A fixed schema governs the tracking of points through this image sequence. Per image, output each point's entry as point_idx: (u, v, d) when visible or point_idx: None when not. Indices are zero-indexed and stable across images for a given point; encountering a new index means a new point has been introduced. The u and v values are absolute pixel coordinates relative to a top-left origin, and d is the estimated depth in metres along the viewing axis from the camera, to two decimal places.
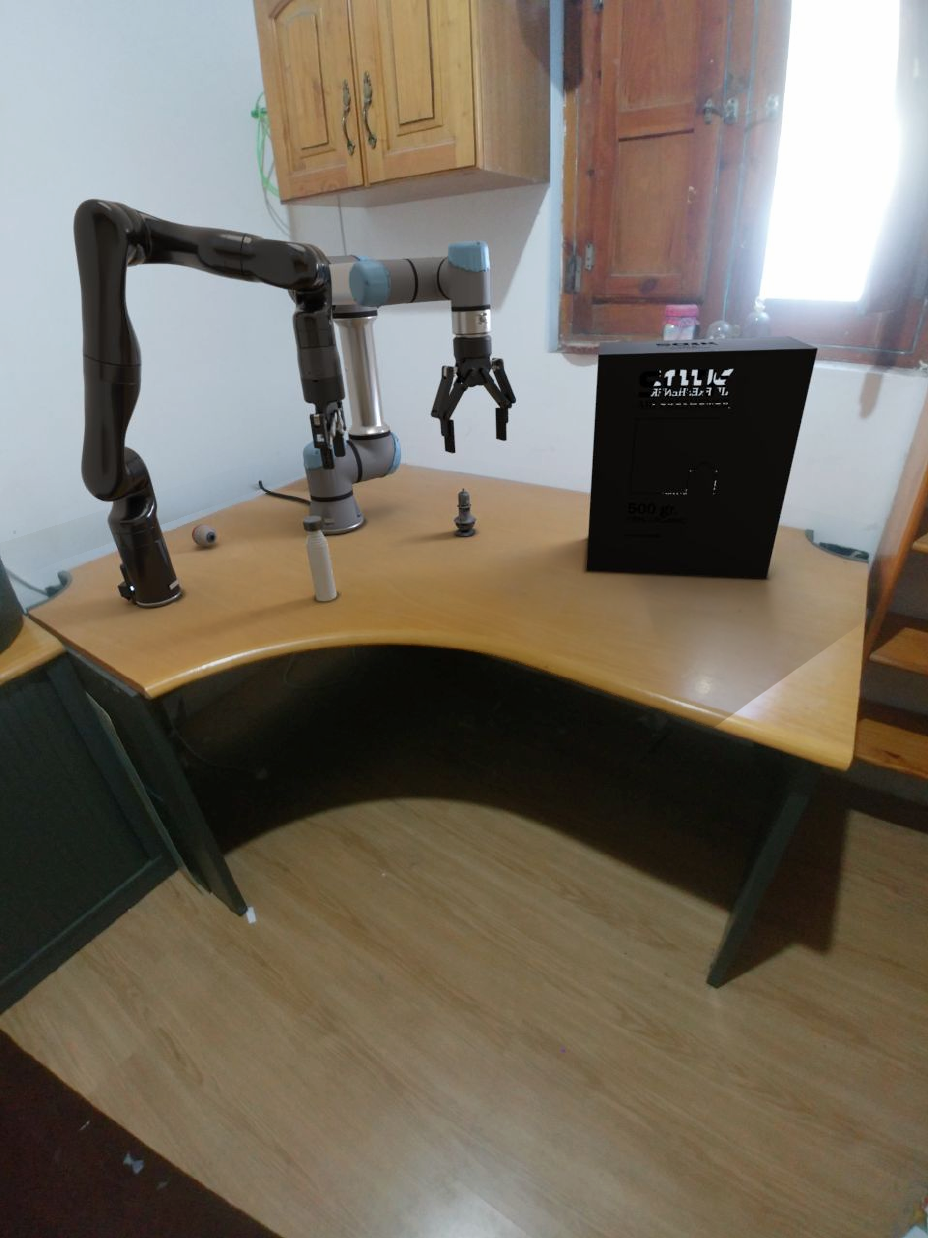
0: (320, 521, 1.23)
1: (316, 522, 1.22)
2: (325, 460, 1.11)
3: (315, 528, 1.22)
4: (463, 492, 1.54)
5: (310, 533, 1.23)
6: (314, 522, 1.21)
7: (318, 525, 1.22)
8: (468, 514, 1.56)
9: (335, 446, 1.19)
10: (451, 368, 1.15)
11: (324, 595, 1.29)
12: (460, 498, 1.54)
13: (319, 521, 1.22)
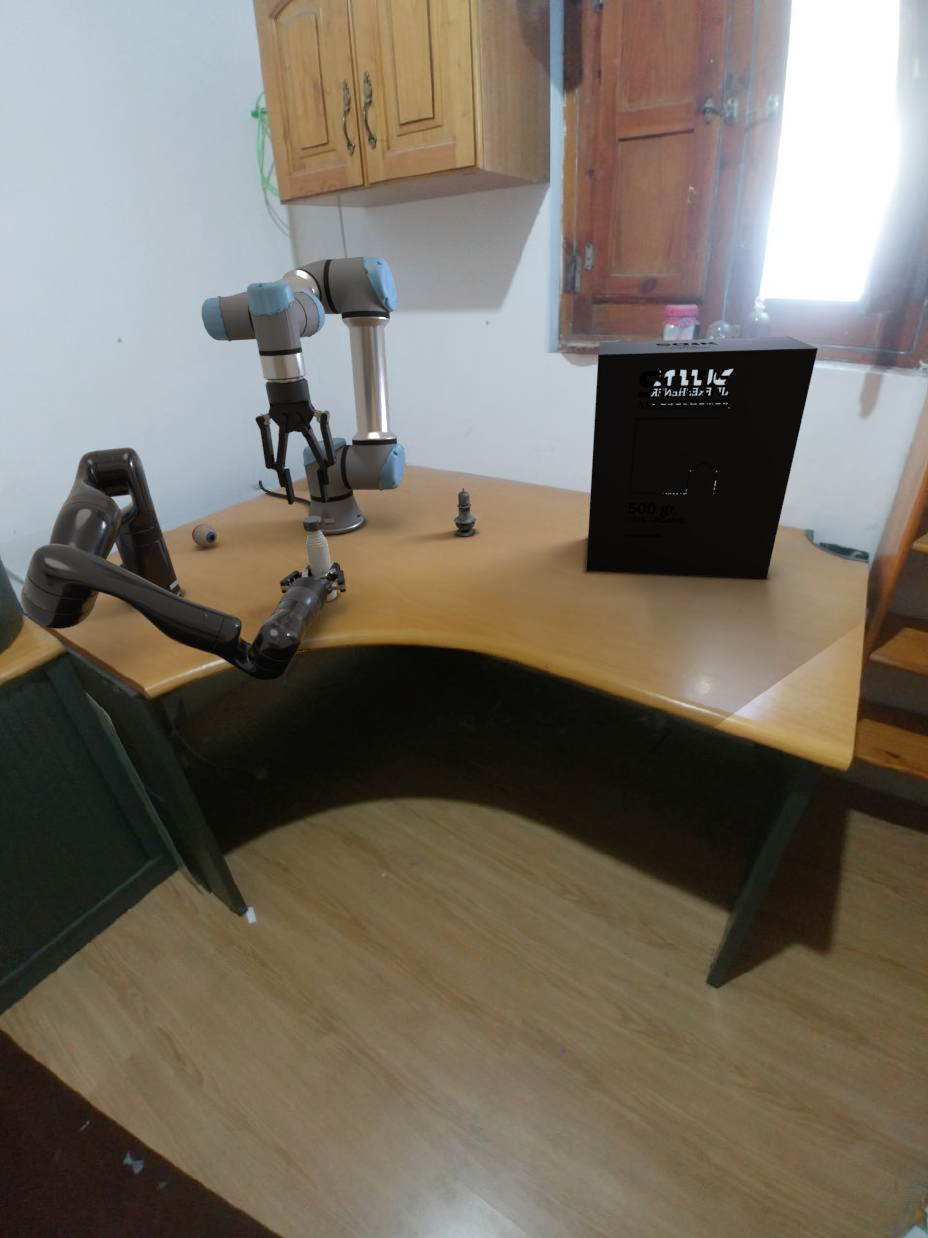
0: (320, 521, 1.23)
1: (316, 522, 1.22)
2: (339, 570, 1.29)
3: (315, 528, 1.22)
4: (463, 492, 1.54)
5: (310, 533, 1.23)
6: (314, 522, 1.21)
7: (318, 525, 1.22)
8: (468, 514, 1.56)
9: None
10: None
11: None
12: (460, 498, 1.54)
13: (319, 521, 1.22)
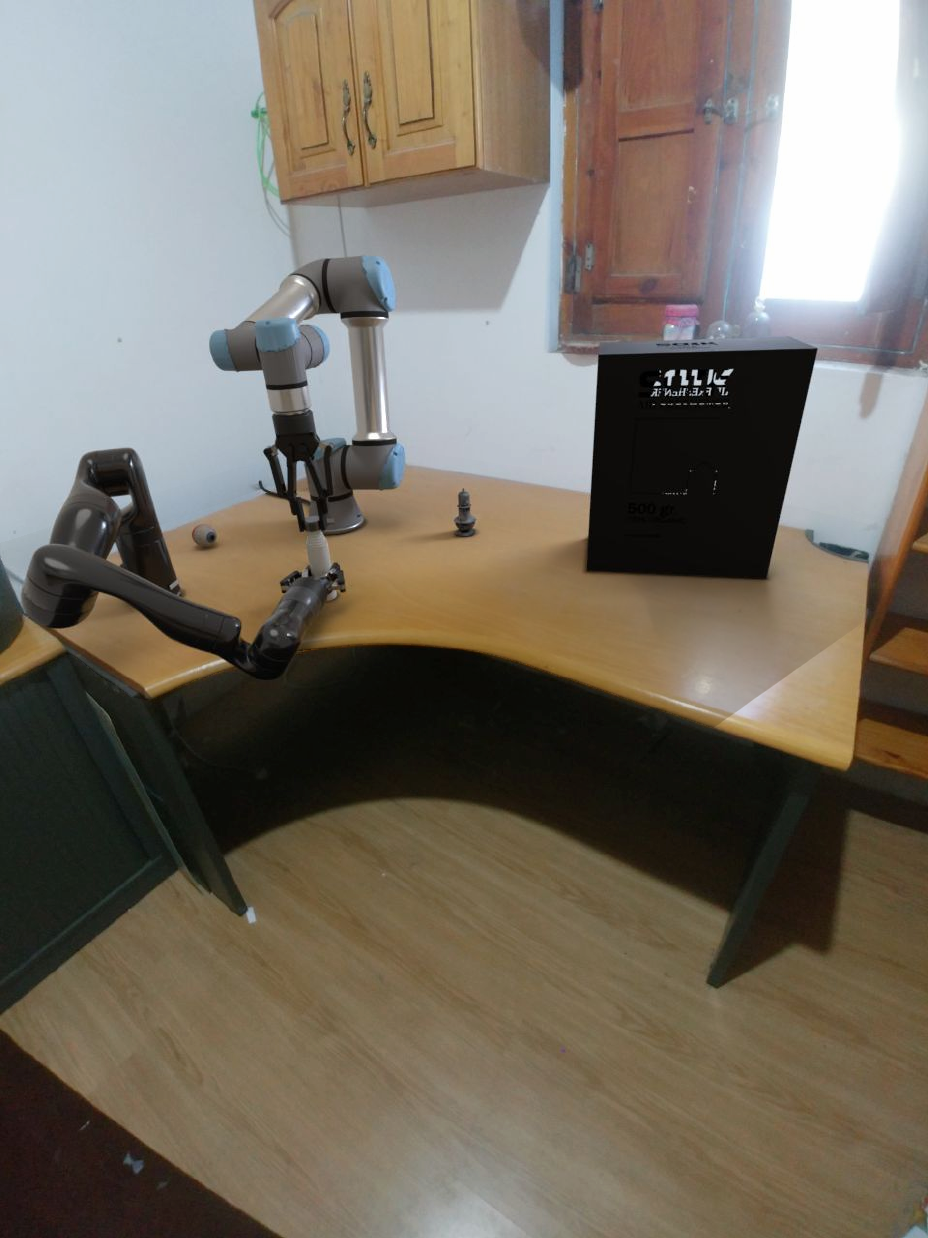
0: None
1: (316, 522, 1.22)
2: (339, 570, 1.29)
3: (315, 528, 1.22)
4: (463, 492, 1.54)
5: (310, 533, 1.23)
6: (314, 522, 1.21)
7: (318, 525, 1.22)
8: (468, 514, 1.56)
9: None
10: None
11: None
12: (460, 498, 1.54)
13: (319, 521, 1.22)
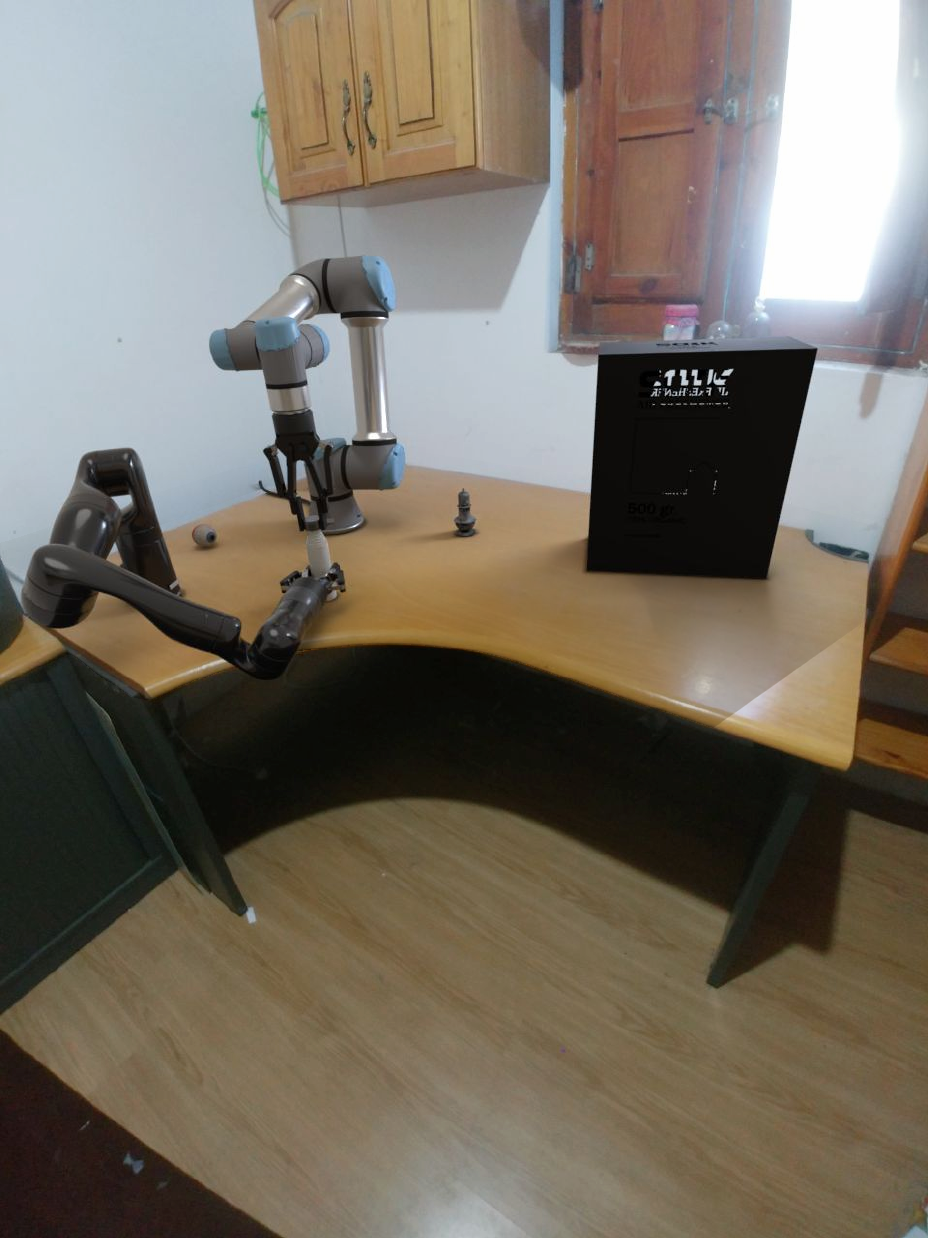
0: None
1: None
2: (339, 570, 1.29)
3: None
4: (463, 492, 1.54)
5: (310, 533, 1.23)
6: None
7: None
8: (468, 514, 1.56)
9: None
10: None
11: None
12: (460, 498, 1.54)
13: None
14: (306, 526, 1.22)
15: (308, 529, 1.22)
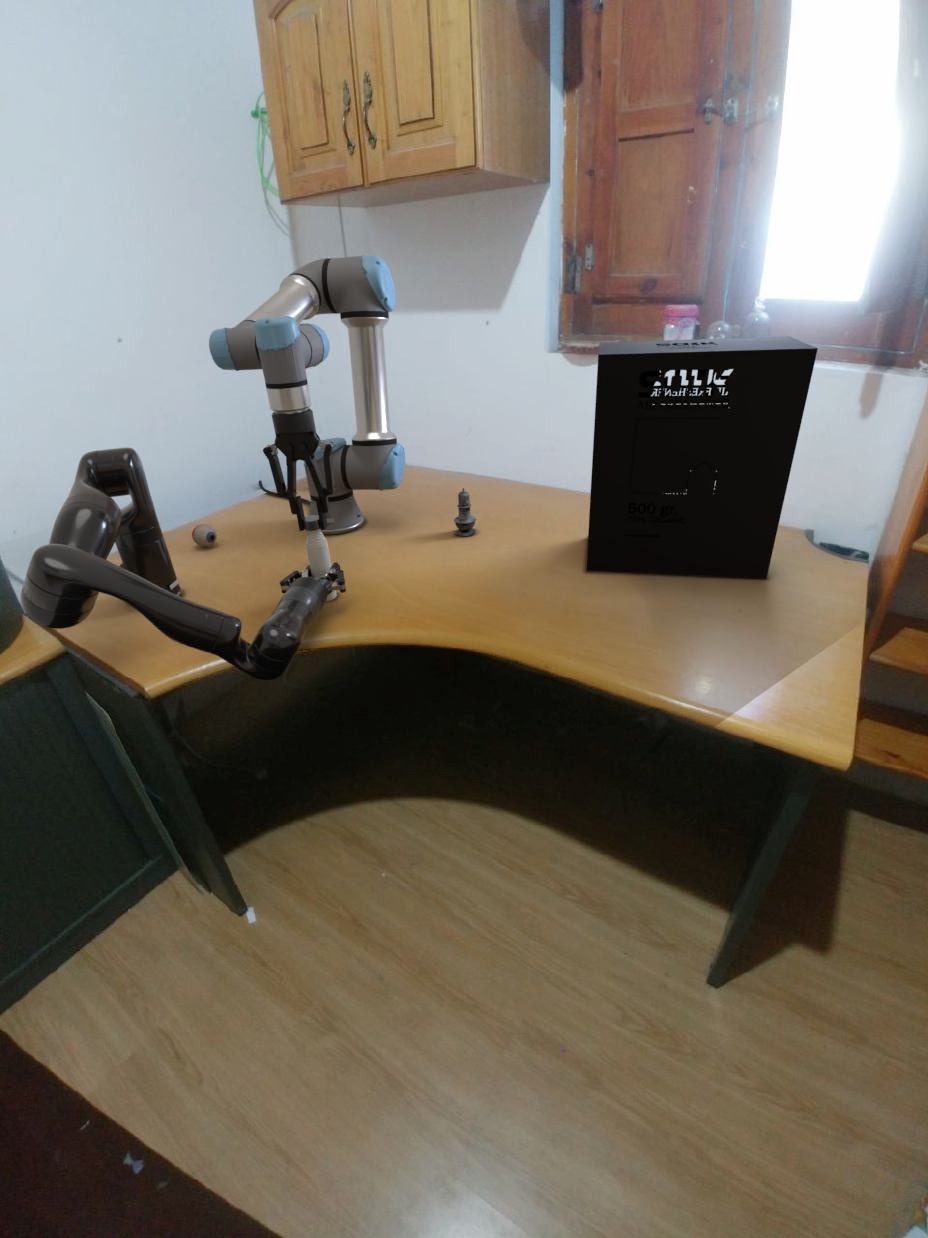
0: (303, 522, 1.22)
1: None
2: (339, 570, 1.29)
3: None
4: (463, 492, 1.54)
5: (310, 533, 1.23)
6: None
7: None
8: (468, 514, 1.56)
9: None
10: None
11: None
12: (460, 498, 1.54)
13: None
14: None
15: None
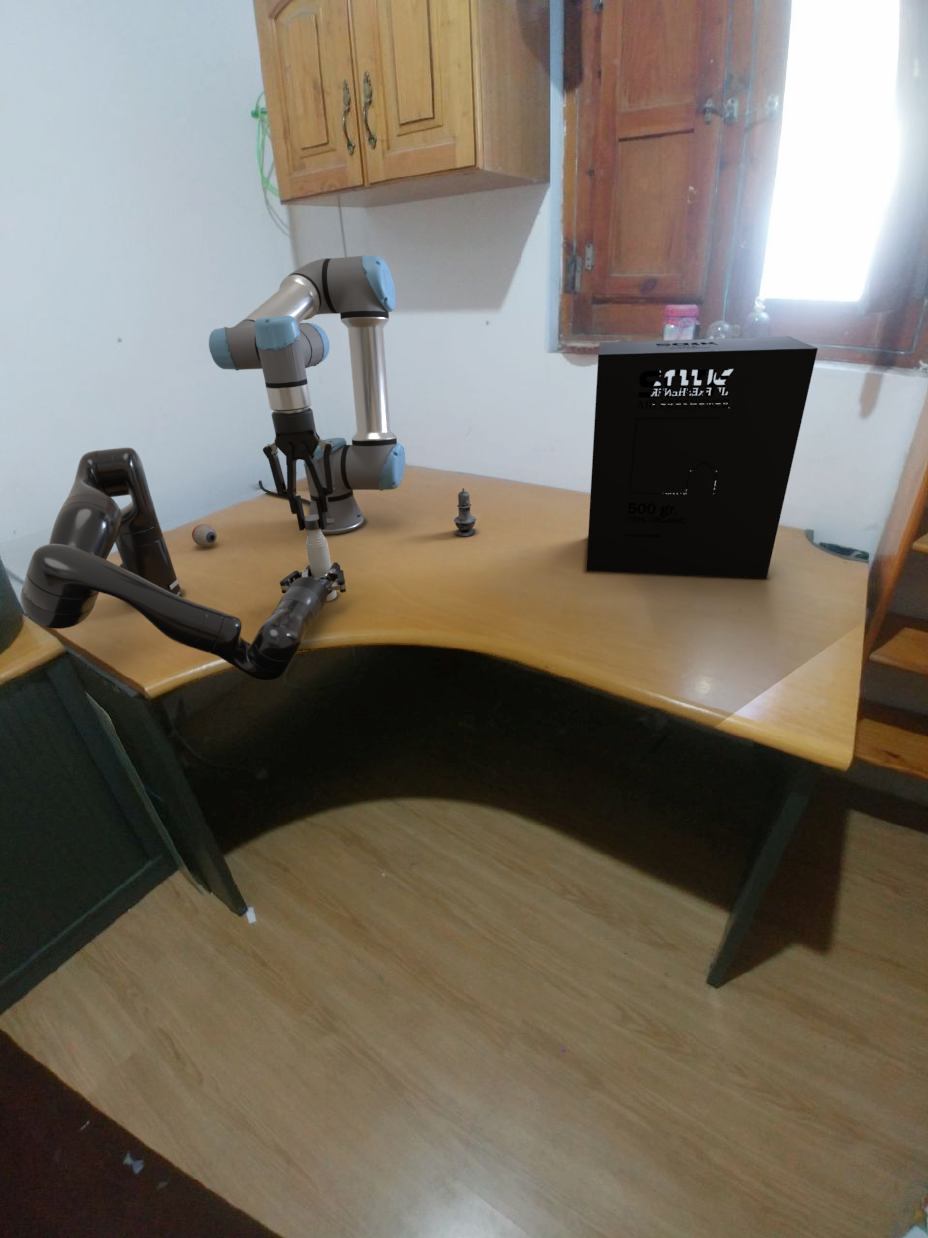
0: (317, 521, 1.22)
1: (312, 521, 1.21)
2: (339, 570, 1.29)
3: (311, 528, 1.22)
4: (463, 492, 1.54)
5: (310, 533, 1.23)
6: (310, 521, 1.21)
7: (314, 525, 1.22)
8: (468, 514, 1.56)
9: None
10: None
11: None
12: (460, 498, 1.54)
13: (316, 521, 1.22)
14: None
15: None
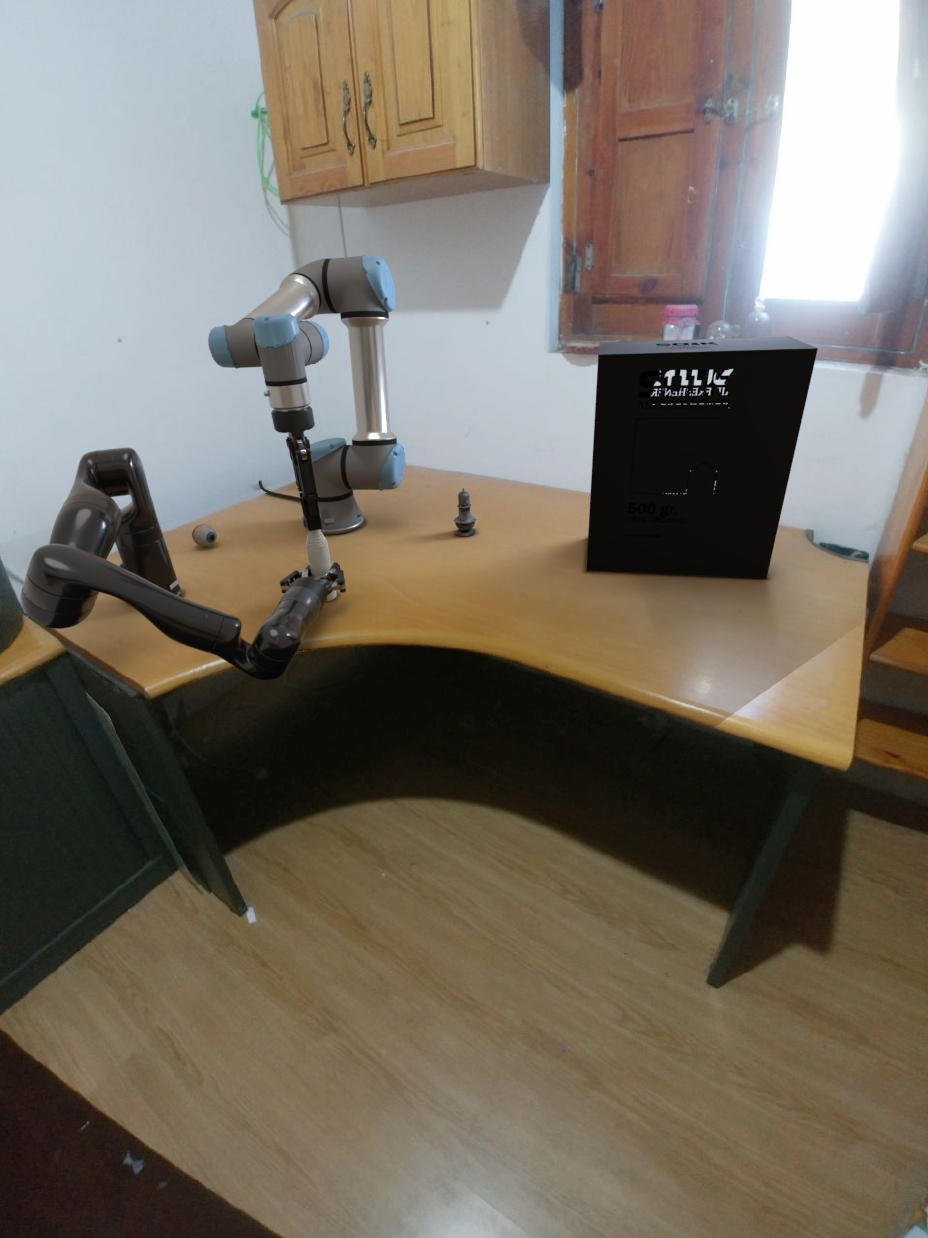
0: None
1: None
2: (339, 570, 1.29)
3: (321, 521, 1.24)
4: (463, 492, 1.54)
5: (310, 533, 1.23)
6: (320, 515, 1.23)
7: None
8: (468, 514, 1.56)
9: None
10: (287, 438, 1.20)
11: None
12: (460, 498, 1.54)
13: None
14: (304, 523, 1.22)
15: (305, 526, 1.22)
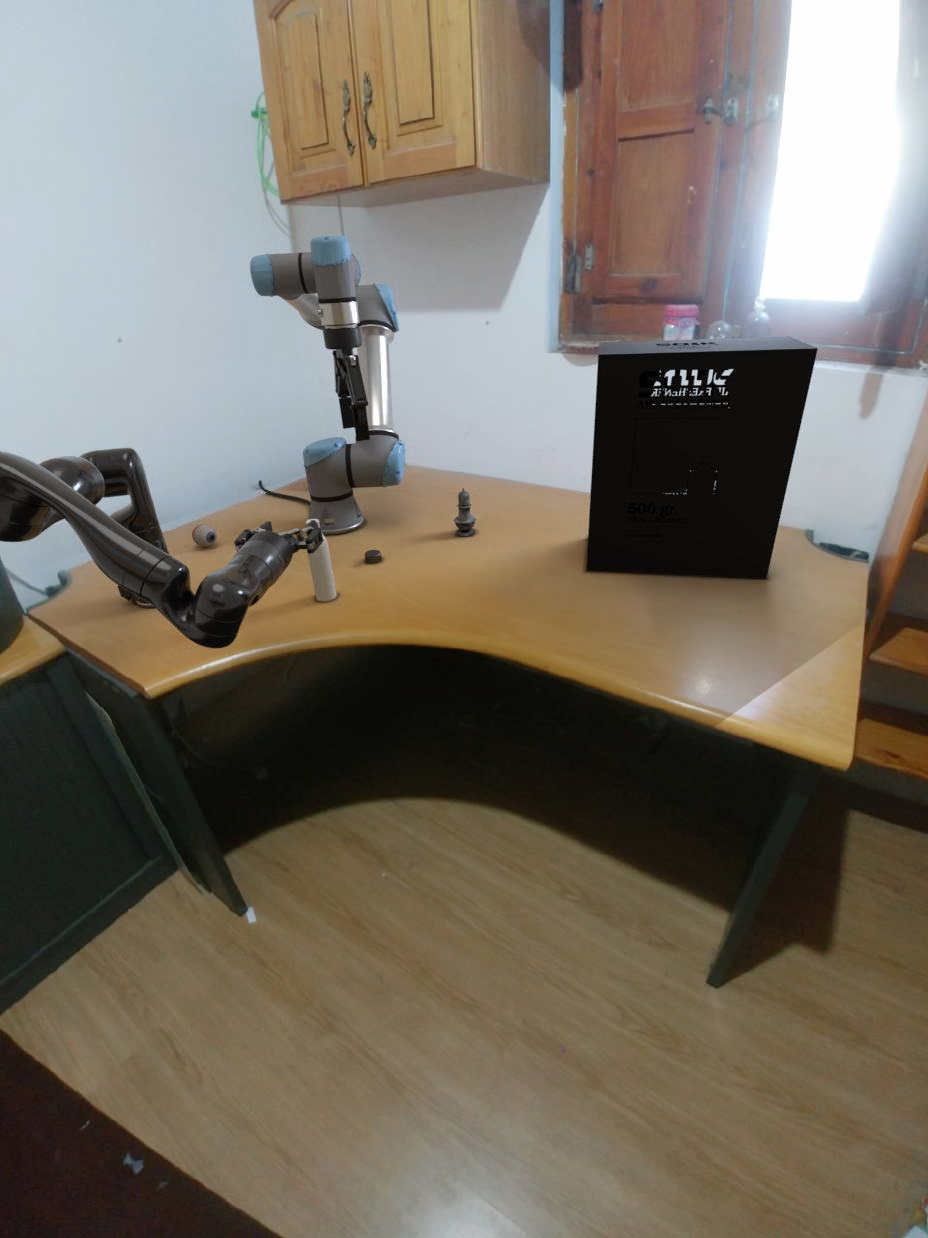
0: None
1: None
2: None
3: None
4: (463, 492, 1.54)
5: None
6: (379, 551, 1.47)
7: None
8: (468, 514, 1.56)
9: None
10: (332, 352, 1.29)
11: (324, 595, 1.29)
12: (460, 498, 1.54)
13: None
14: (366, 558, 1.46)
15: (367, 561, 1.46)
